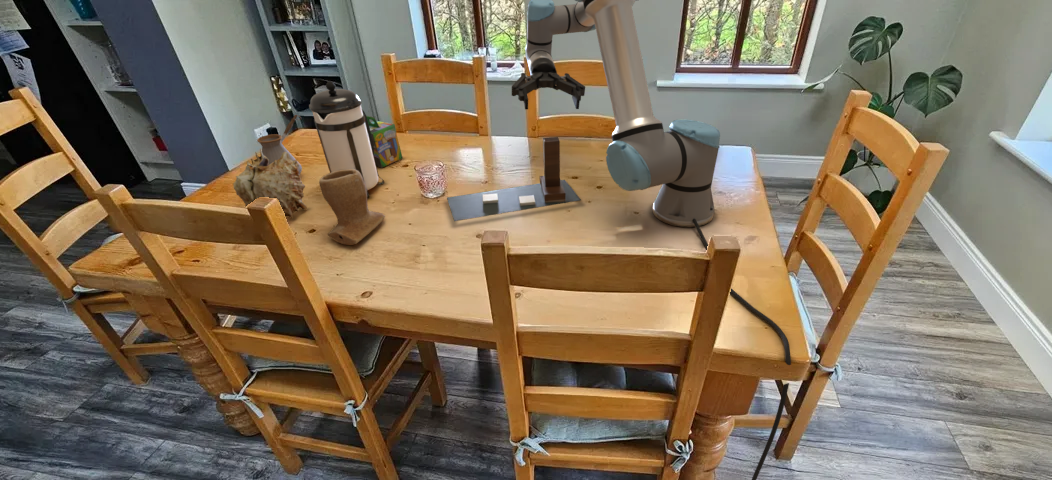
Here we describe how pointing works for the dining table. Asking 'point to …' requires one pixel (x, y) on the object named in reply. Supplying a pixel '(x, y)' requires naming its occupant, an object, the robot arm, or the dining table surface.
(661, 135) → the robot arm
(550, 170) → the brown upright slab stand
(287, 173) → the seashell
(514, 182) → the dining table surface
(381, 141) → the chalk box
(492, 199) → the chalk patch
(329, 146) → the coffee press
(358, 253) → the dining table surface
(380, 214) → the clay platform pipe
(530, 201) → the chalk patch
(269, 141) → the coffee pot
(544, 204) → the slate board
